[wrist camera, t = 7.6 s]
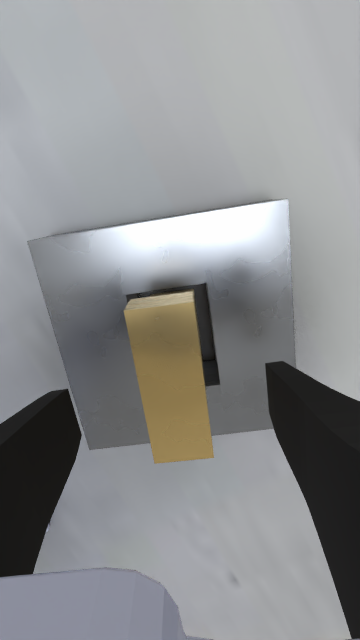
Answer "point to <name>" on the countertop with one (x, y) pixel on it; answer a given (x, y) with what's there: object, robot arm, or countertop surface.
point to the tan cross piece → (170, 374)
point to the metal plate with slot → (163, 273)
